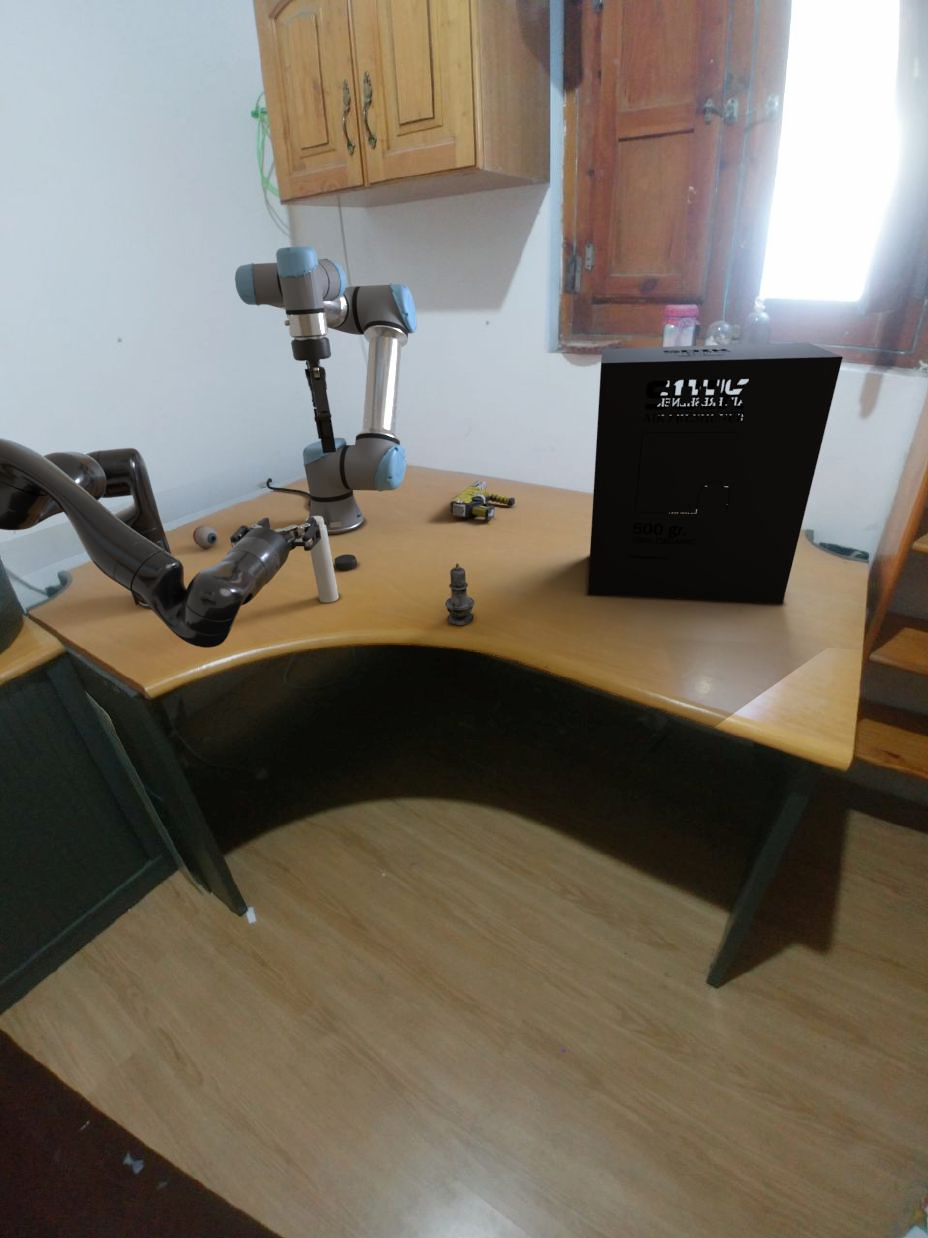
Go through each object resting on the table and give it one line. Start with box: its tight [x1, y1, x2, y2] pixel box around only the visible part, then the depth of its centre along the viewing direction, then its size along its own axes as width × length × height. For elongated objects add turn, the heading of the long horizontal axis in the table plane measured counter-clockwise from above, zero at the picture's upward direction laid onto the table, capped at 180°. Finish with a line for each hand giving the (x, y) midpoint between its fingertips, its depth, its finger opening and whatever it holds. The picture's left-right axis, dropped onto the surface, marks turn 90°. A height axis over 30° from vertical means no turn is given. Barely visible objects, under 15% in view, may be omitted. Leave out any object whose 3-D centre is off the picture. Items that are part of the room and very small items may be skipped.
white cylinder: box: [305, 516, 340, 604], centre depth 126 cm, size 4×4×18 cm
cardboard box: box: [587, 342, 844, 605], centre depth 120 cm, size 38×20×45 cm, turn 78°
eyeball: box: [192, 524, 219, 549], centre depth 158 cm, size 6×6×6 cm
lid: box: [334, 553, 358, 572], centre depth 145 cm, size 5×5×2 cm
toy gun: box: [449, 480, 516, 522], centre depth 174 cm, size 5×24×15 cm
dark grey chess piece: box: [444, 563, 475, 626], centre depth 117 cm, size 6×6×12 cm
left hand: (290, 522), depth 110 cm, fingers open, 8 cm apart
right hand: (327, 444), depth 131 cm, fingers open, 13 cm apart
